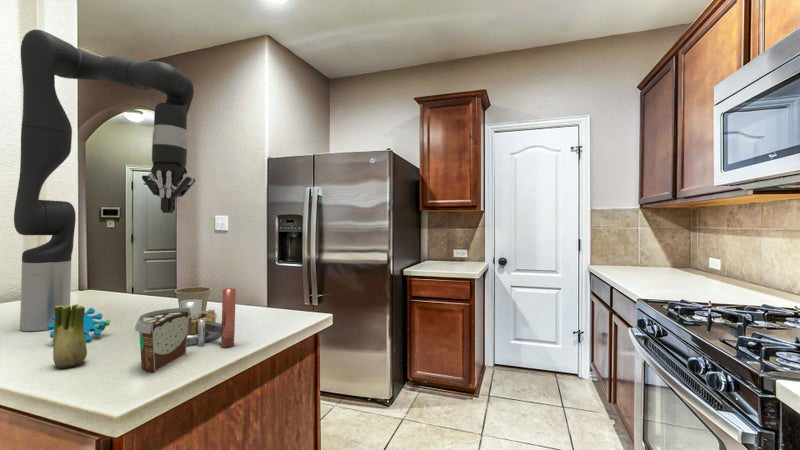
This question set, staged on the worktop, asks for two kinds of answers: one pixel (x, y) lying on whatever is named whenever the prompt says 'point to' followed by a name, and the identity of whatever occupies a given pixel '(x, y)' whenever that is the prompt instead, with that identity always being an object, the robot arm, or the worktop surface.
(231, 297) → the reddish rod with blocks
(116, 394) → the worktop surface
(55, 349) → the fennel bulb
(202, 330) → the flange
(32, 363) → the worktop surface
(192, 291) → the flower pot
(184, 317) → the food container
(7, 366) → the worktop surface
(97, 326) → the blue spiky virus model
